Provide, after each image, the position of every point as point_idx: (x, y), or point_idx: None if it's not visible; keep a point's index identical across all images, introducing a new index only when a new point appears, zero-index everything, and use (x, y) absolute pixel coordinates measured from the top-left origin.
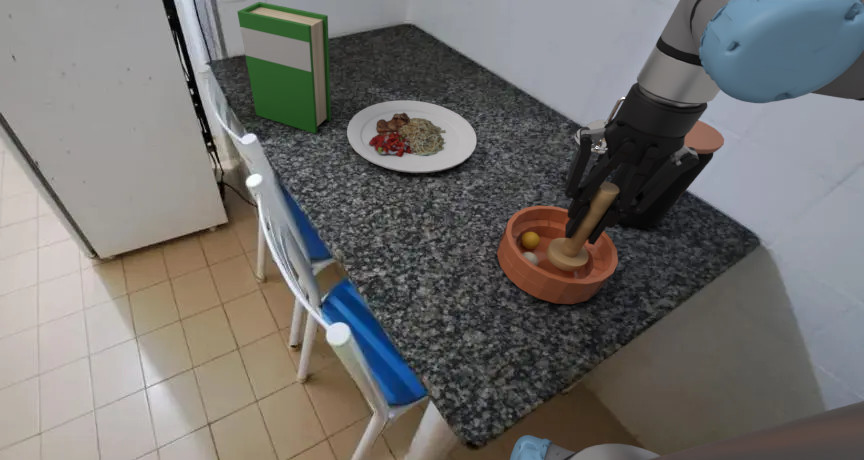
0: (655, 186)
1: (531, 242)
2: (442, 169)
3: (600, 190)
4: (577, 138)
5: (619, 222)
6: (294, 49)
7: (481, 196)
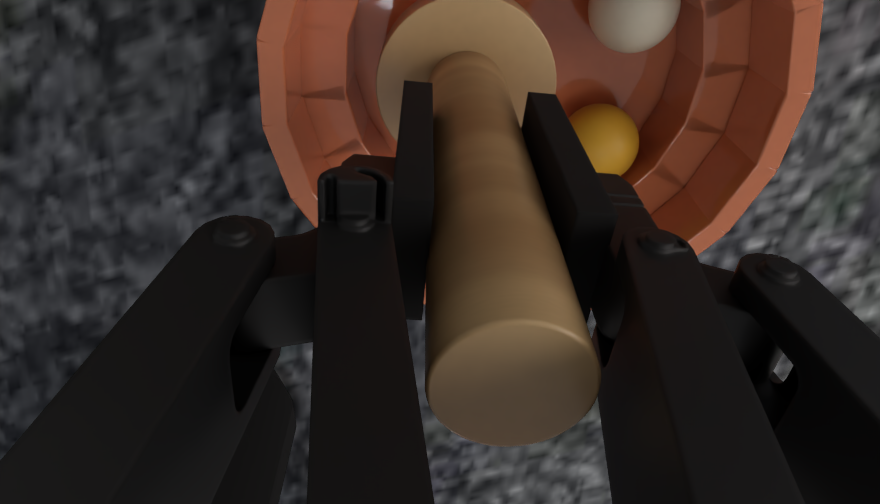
0: (136, 465)
1: (611, 119)
2: None
3: (590, 343)
4: None
5: None
6: None
7: None
